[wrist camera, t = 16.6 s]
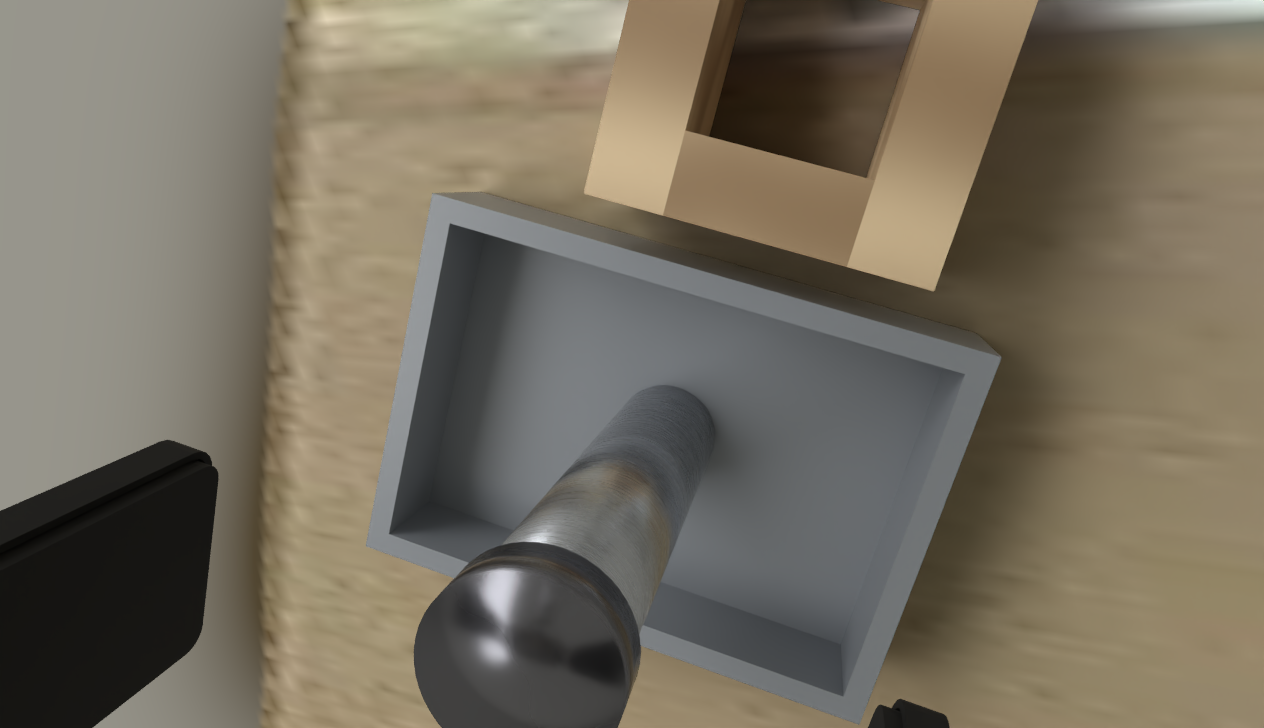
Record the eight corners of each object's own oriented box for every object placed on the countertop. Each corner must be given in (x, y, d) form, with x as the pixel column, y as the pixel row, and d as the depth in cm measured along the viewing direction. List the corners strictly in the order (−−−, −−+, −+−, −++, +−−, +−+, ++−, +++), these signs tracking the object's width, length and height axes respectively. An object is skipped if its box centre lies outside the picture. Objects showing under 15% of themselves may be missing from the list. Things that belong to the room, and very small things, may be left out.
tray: (480, 191, 24) (432, 193, 21) (976, 333, 22) (1001, 357, 19) (416, 504, 26) (365, 546, 23) (854, 658, 24) (859, 724, 21)
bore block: (701, -127, 21) (675, -196, 17) (1028, -56, 20) (1079, -114, 16) (623, 191, 23) (583, 193, 19) (913, 272, 22) (934, 291, 18)
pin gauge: (625, 363, 23) (436, 540, 12) (736, 398, 23) (651, 617, 11) (598, 467, 24) (395, 727, 13) (704, 502, 24) (596, 805, 12)
